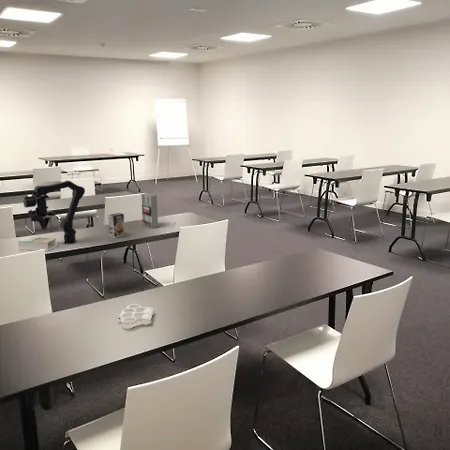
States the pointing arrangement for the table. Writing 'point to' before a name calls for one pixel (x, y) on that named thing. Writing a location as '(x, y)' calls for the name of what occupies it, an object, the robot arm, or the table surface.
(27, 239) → the lid outer
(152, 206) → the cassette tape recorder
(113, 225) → the coffee box
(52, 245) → the white tray
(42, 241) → the lid inner
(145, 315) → the white flat holed piece
